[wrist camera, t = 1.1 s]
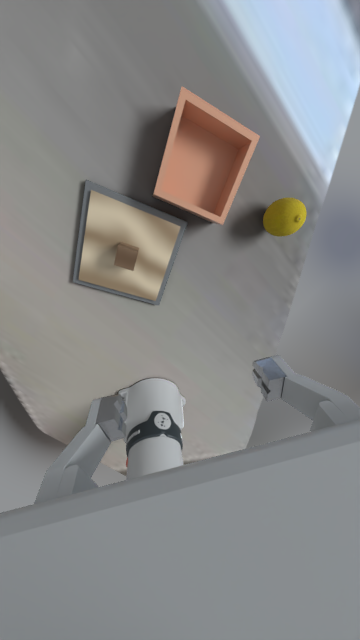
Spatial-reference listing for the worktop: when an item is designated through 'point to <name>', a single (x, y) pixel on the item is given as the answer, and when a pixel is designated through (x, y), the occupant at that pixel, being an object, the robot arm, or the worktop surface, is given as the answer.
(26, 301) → the worktop surface
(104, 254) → the lid
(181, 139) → the salmon open box
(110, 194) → the mat
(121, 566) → the robot arm
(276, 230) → the lemon
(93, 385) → the worktop surface
